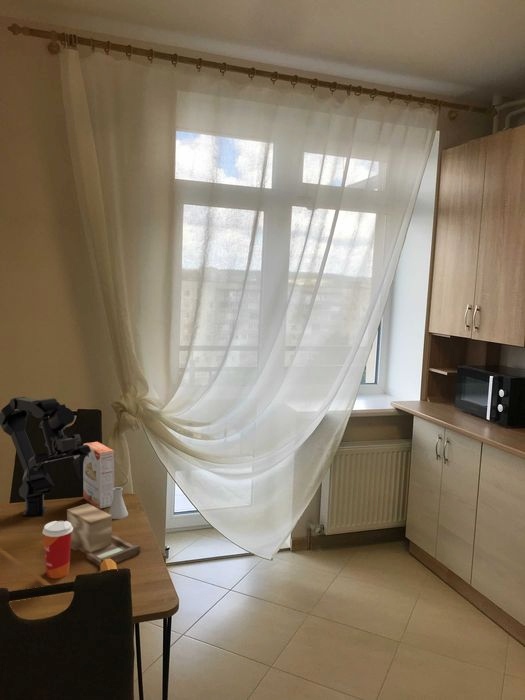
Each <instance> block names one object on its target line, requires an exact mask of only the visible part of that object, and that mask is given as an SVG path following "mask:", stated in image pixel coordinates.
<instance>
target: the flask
mask: <svg viewBox="0 0 525 700" xmlns="http://www.w3.org/2000/svg"><path fill="white" fill-rule="evenodd" d="M123 489H124V488H123V487H122V486H121V487H120V486H119V487H118V486H117V487H114V488H113V491H114V496H113V501H112V504H111V507H110V506H109V510H108V514H110V515H112V520H121V519H124V518H126V517H127V516H129V512H128V510H127V507H126V504H125V501H124V499H123V494H122V493H123Z"/></svg>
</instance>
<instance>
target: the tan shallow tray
mask: <svg viewBox="0 0 525 700" xmlns="http://www.w3.org/2000/svg"><path fill="white" fill-rule="evenodd" d="M71 550H72V551H74V552H76V551H80V552H82V553H83V554H85V555H86V559H87V560H89V561H90V562H93V563H94V564H96V565H97V566H98V567H100V566H101V563H102V562H103V561H104V560H105V559H112V560H113V561H114V562H115V563H116V564H118V563H119V562H121V561H125V560H127V559H129V558H132V557H134V556H136V555H139V554H141V545H139V544H135V545H134V544H131V543H129V542H127V541H126V540H124V539H122V538H120V537H118V536H117V535H114V534H113V533H112V545H110V546H107V547H104V548H102V549H99V550H96V551H93V552H89V551H87V550H86V549H84V548H82V547H81V546H79V545H77V544H76V543H74V542H72V541H71Z"/></svg>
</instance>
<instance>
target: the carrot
mask: <svg viewBox="0 0 525 700" xmlns="http://www.w3.org/2000/svg"><path fill="white" fill-rule="evenodd" d="M99 567H100V570H99V571H103V570H110V569H117V570H118V566H117V563H115V562H114V561H113V560H112V559H105V560H104V561H103V562H102V563H101V566H99Z"/></svg>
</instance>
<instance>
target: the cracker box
mask: <svg viewBox="0 0 525 700" xmlns="http://www.w3.org/2000/svg"><path fill="white" fill-rule="evenodd" d="M83 445H88V446H89V447H90V449H91V452H90V453H89V454H88V456H86V457H85V459H84V463H83V474H82V479H83V480H82V481H83V482H82V483H83V486H82V487H83V488H82V489H83V491H82V493H83V496H82V498H83V499H84V500H85V501H87V503H88V504H90V505H92V506H94V507H96V508H98V509H100V510H101V509H105V508H108V507H109V508H110V507H111V504H112V501H113V496H114V491H113V488H115V450H113V449H111V448H110V447H107V446H106V445H104V444H103V443H101V442H99V441H94V442H86V443H83Z"/></svg>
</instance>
